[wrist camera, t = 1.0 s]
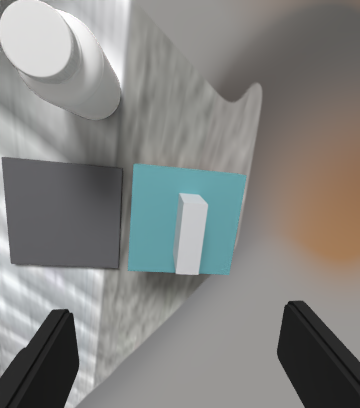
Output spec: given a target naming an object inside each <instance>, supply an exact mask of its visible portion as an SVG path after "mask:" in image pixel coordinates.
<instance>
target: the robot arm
mask: <svg viewBox="0 0 360 408" xmlns="http://www.w3.org/2000/svg"><path fill="white" fill-rule="evenodd" d="M277 355H278V359H279V361H280V363H281V364H282V366H283V368H284V370H285V372H286V374H287V376H288V377H289V379H290V381H291V383H292V385H293V387H294V389H295V390H296V392H297V394H298V396H299V398H300V400H301V401H302V403H303V405H304V407H305V408H360V362H359V361H358V359H357V358H356V357H355V356H354V355H353V354H352V353H351V352H350V351H349V350H348V349H347V348H346V346H344V344H343V343H342V342H341V341H340V340H339V339H338V338H337V337H336V336H335V334H334V333H333V332H332V331H331V330H330V329H329V328H328V327H327V326H326V325H325V324H324V323H323V322H322V320H321V319H320V318H319V317H318V316H317V315H316V314H315V313H314V312H313V311H312V309H311V308H310V307H309V306H308V305H307V304H306V303H305V302H303V301H289V302H288V304H287V305H285V307H284V313H283V319H282V325H281V331H280V336H279V343H278V348H277ZM78 369H79V356H78V348H77V340H76V332H75V325H74V317H73V313H69V310H68V309H58V310H52V311H51V312H50V314H49V315H48V316H47V318H46V319H45V321H44V322H43V324H42V325H41V327H40V328H39V329H38V331H37V332H36V334H35V335H34V337H33V338H32V340H31V341H30V342H29V344H28V345H27V347H26V348H23V349H22V350H21V351H20V352H19V353H18V354H17V355H16V357H15V358H14V360H13V361H12V362H11V364H10V365H9V367H8V368H7V369H6V371H5V372H4V374H3V375H2V376H1V378H0V408H64V406H65V404H66V401H67V398H68V396H69V393H70V391H71V388H72V385H73V383H74V380H75V378H76V375H77V372H78Z"/></svg>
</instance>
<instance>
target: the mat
mask: <svg viewBox="0 0 360 408" xmlns="http://www.w3.org/2000/svg"><path fill="white" fill-rule="evenodd" d="M2 168H3V179H4V190H5V202H6V213H7V224H8V236H9V247H10V258H11V264H32V265H56V266H80V267H105V268H118V267H119V250H120V226H121V202H122V179H123V168H113V167H103V166H92V165H82V164H72V163H61V162H51V161H40V160H30V159H20V158H9V157H2Z"/></svg>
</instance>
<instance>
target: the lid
mask: <svg viewBox="0 0 360 408" xmlns="http://www.w3.org/2000/svg"><path fill="white" fill-rule="evenodd" d="M245 182H246V175H241V174H236V173H226V172H216V171H206V170H196V169H186V168H176V167H166V166H156V165H146V164H134V166H133V185H132V204H131V223H130V242H129V260H128V271H148V272H173V273H176V274H188V275H198V274H225V275H229V271H230V266H231V261H232V255H233V250H234V244H235V238H236V233H237V227H238V221H239V216H240V210H241V204H242V199H243V193H244V188H245Z"/></svg>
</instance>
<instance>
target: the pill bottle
mask: <svg viewBox="0 0 360 408" xmlns="http://www.w3.org/2000/svg"><path fill="white" fill-rule="evenodd" d="M0 42H1V45H2V48H3V50H4V53H5V54H6V56H7V57H8V59H9V61H11V63H12V64H13V66H14V67H16V68H17V70H18V72H19V74H20V76H21V77H22V79H23V80H24V82H25V83H26V84H27V86H28V87H29V88H30V89H31V90H32V91H33V92H34V93H35V94H36V95H38V96H39V97H40V98H42V99H44V100H45V101H47V102H49V103H51V104H54V105H56V106H58V107H60V108H63V109H65V110H67V111H70V112H72V113H74V114H76V115H79V116H81V117H83V118H86V119H91V120H100V119H104V118H106V117H108V116H110V115H111V114H112V113H113V112H114V111H115V110H116V109H117V107H118V105H119V102H120V98H121V89H120V84H119V80H118V78H117V76H116V74H115V72H114V70H113V68H112V67H111V65H110V63H109V61H108V59H107V57H106V56H105V54H104V52H103V50H102V48H101V46H100V44H99V43H98V41H97V39H96V38H95V36H94V35H93V33H92V32H91V31H90V29H89V28H88V27H87V26H86V25H85V24H84V23H83V22H81V21H80V20H79V19H77V18H76V17H74V16H73V15H71V14H69V13H67V12H64V11H61V10H57V9H54V8H53V7H52V6H49V5H48V4H47V3H45V2H41V1H40V0H18V1H16V2H14V3H12V4H11V5H9V6H8V7H7V8H6V10H5V11H4V12H3V14H2V17H1V19H0Z"/></svg>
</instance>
